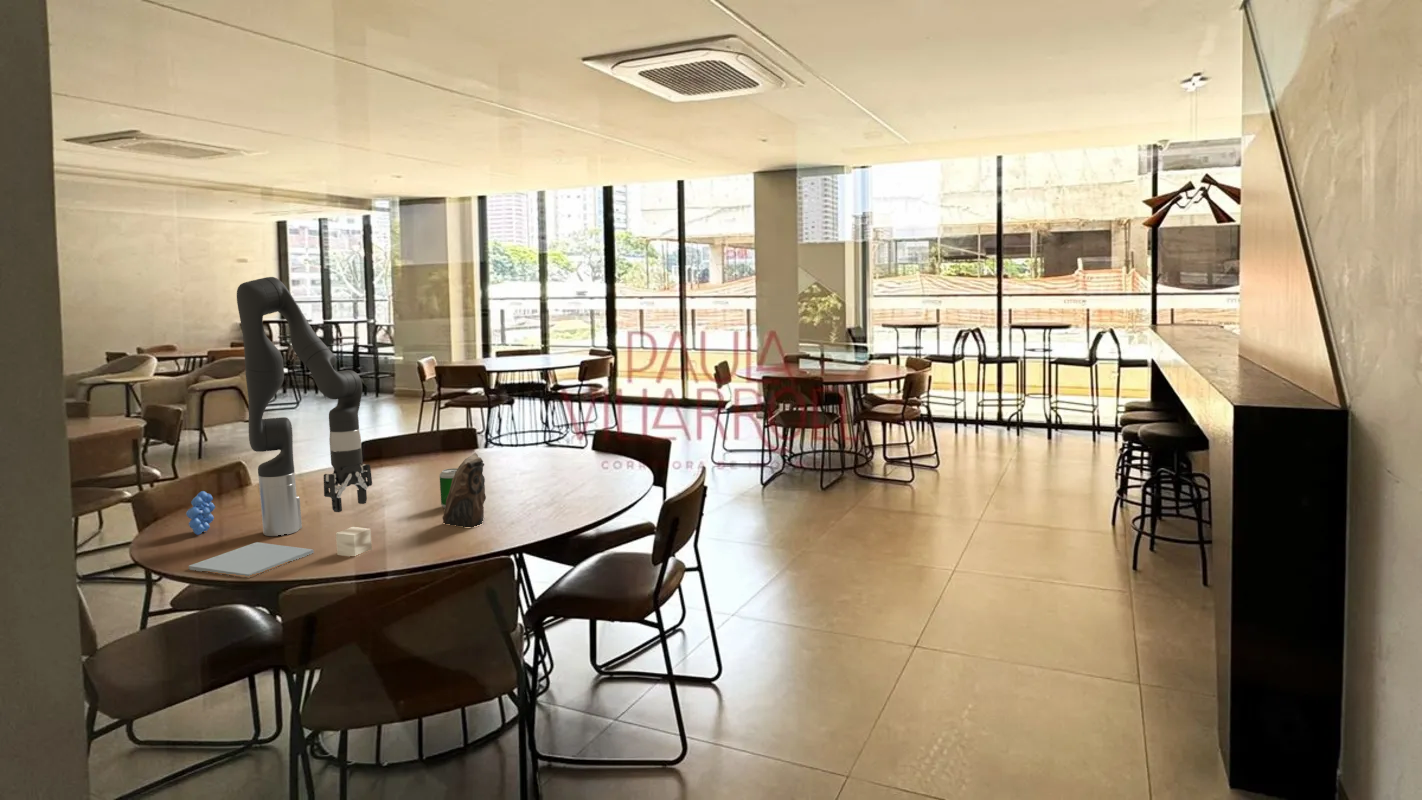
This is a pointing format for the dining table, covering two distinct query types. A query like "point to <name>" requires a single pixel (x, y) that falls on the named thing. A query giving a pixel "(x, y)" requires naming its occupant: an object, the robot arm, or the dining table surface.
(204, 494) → the grapes
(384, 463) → the dining table surface
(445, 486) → the soda can
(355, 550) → the maple block
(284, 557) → the slate board
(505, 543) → the dining table surface
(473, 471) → the owl
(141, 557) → the dining table surface
